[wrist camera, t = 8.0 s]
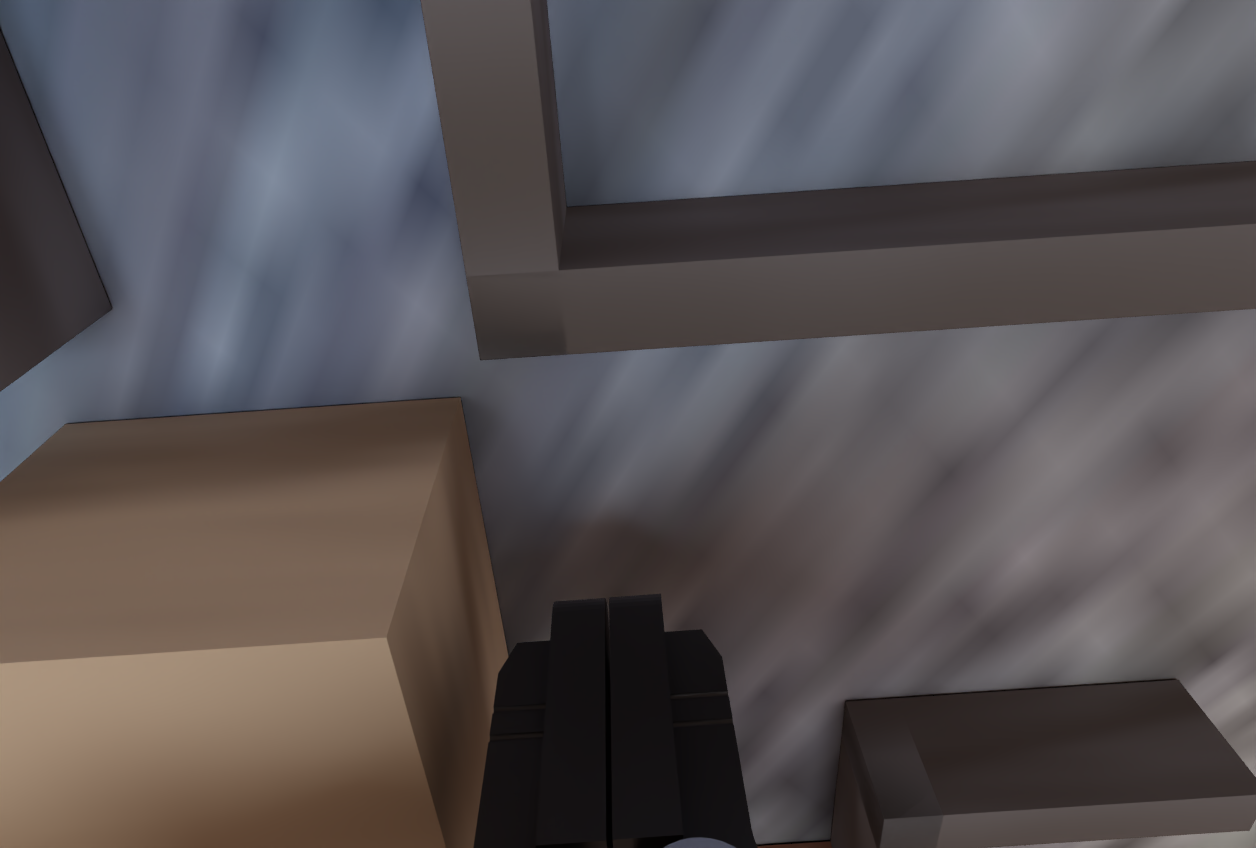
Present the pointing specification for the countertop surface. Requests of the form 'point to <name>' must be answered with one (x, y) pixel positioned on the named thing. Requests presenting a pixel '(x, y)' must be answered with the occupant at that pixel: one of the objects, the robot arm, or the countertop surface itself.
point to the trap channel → (784, 310)
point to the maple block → (247, 632)
